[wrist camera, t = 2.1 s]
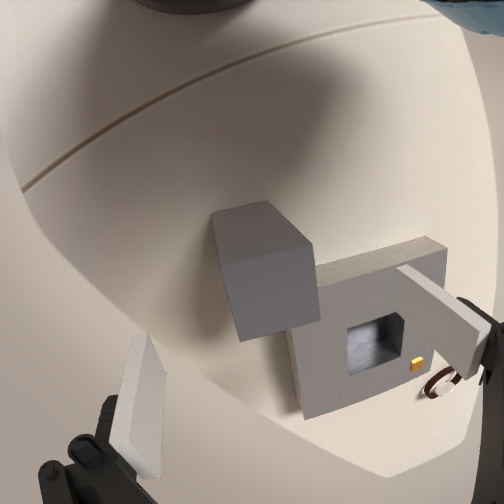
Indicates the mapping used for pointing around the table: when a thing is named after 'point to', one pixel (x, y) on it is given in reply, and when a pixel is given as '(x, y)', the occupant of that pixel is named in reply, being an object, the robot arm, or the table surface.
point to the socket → (361, 329)
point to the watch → (442, 388)
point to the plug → (265, 270)
